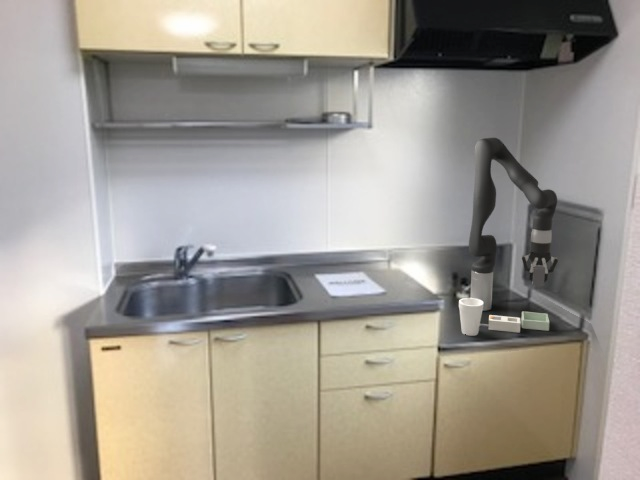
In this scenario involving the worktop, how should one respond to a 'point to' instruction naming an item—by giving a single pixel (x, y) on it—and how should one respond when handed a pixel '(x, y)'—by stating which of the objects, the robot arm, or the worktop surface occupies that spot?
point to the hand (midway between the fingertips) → (537, 281)
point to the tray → (535, 321)
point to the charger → (538, 276)
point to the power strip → (503, 323)
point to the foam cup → (470, 315)
